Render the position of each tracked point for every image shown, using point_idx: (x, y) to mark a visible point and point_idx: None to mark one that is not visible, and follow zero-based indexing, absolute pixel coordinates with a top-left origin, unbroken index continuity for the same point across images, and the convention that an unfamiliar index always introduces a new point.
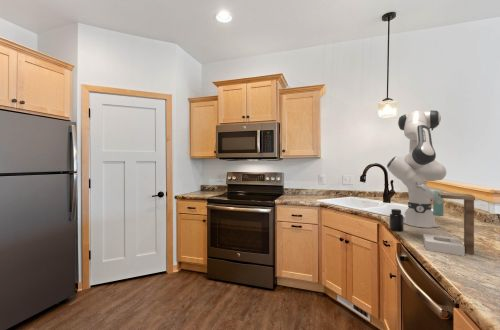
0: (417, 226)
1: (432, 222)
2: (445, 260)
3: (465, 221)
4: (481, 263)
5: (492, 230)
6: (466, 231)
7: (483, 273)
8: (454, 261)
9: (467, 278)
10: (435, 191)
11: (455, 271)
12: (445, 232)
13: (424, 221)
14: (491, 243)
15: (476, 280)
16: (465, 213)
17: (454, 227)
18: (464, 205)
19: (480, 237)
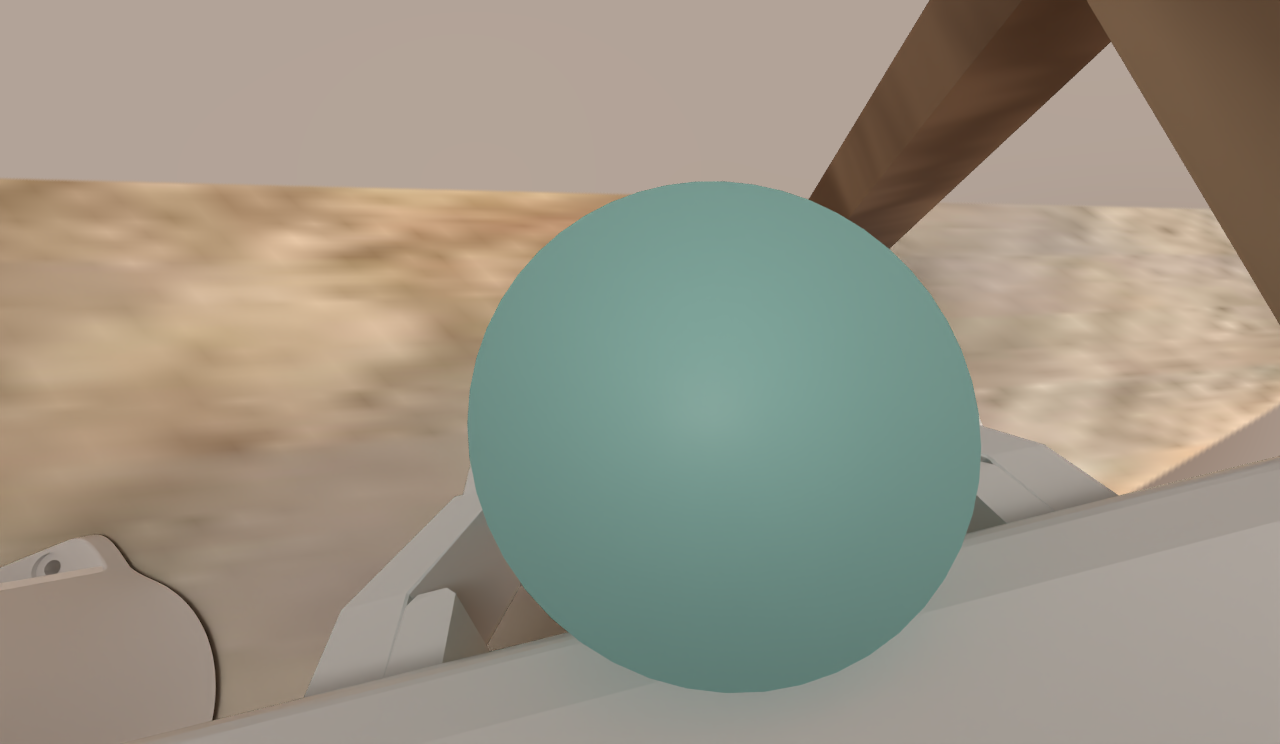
0: (211, 717)
1: (83, 593)
2: (1074, 391)
3: (934, 185)
4: (952, 249)
5: (5, 193)
6: (900, 235)
7: (1105, 242)
8: (1046, 352)
9: (1246, 292)
10: (881, 530)
11: (1205, 337)
12: (300, 461)
13: (124, 674)
14: (455, 206)
15: (1232, 263)
16: (1007, 112)
17: (31, 418)
18: (1046, 15)
19: (316, 255)
